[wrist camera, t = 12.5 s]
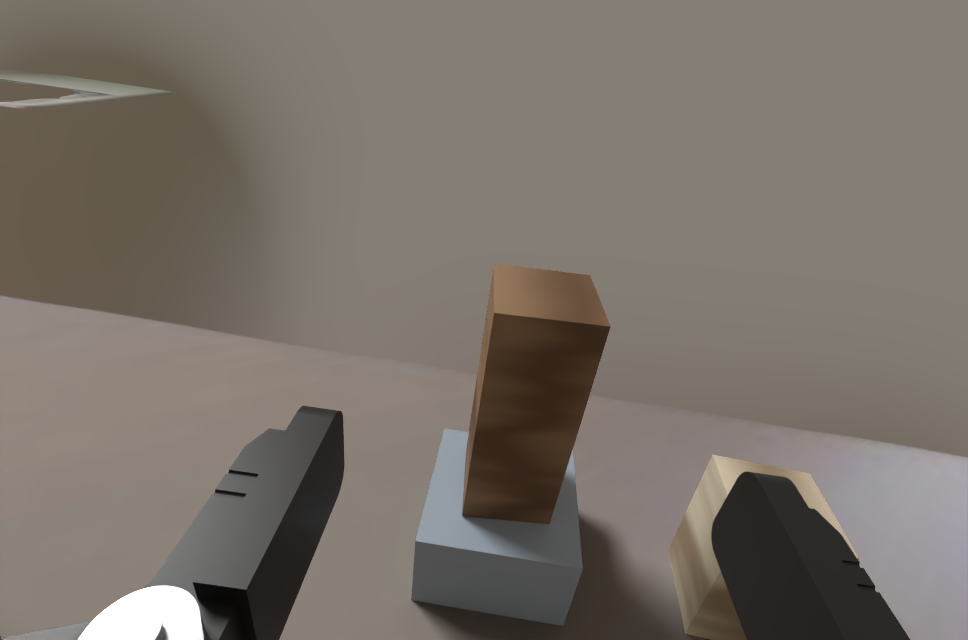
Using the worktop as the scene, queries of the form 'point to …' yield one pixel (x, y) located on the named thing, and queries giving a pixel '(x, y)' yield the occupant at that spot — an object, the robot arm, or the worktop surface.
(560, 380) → the walnut block
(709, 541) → the birch block
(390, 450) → the worktop surface
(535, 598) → the base block
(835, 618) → the robot arm
